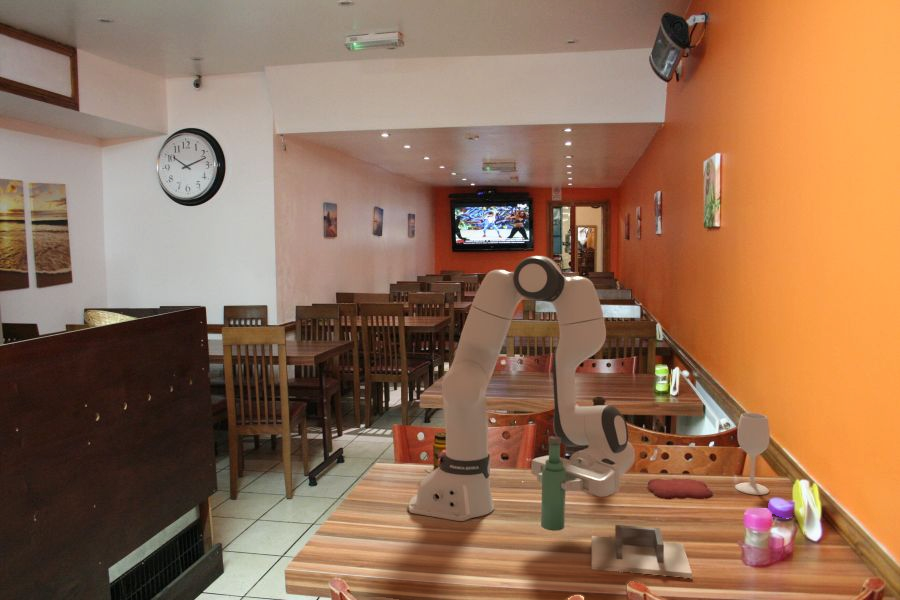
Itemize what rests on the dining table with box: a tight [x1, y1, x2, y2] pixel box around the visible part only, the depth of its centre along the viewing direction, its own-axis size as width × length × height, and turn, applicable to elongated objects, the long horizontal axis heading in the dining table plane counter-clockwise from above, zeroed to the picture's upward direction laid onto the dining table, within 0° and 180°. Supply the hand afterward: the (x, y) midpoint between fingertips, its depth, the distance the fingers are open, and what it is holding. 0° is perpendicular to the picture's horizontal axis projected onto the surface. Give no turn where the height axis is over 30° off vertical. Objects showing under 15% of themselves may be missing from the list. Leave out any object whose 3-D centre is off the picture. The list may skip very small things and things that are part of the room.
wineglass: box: [734, 412, 771, 496], centre depth 182 cm, size 9×9×21 cm
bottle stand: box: [591, 524, 693, 580], centre depth 142 cm, size 20×14×5 cm
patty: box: [646, 478, 714, 500], centre depth 183 cm, size 18×14×2 cm
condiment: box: [424, 432, 446, 474], centre depth 199 cm, size 7×8×12 cm
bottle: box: [540, 435, 566, 532], centre depth 145 cm, size 5×5×20 cm
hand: (551, 482), depth 144 cm, fingers closed on bottle, 5 cm apart
